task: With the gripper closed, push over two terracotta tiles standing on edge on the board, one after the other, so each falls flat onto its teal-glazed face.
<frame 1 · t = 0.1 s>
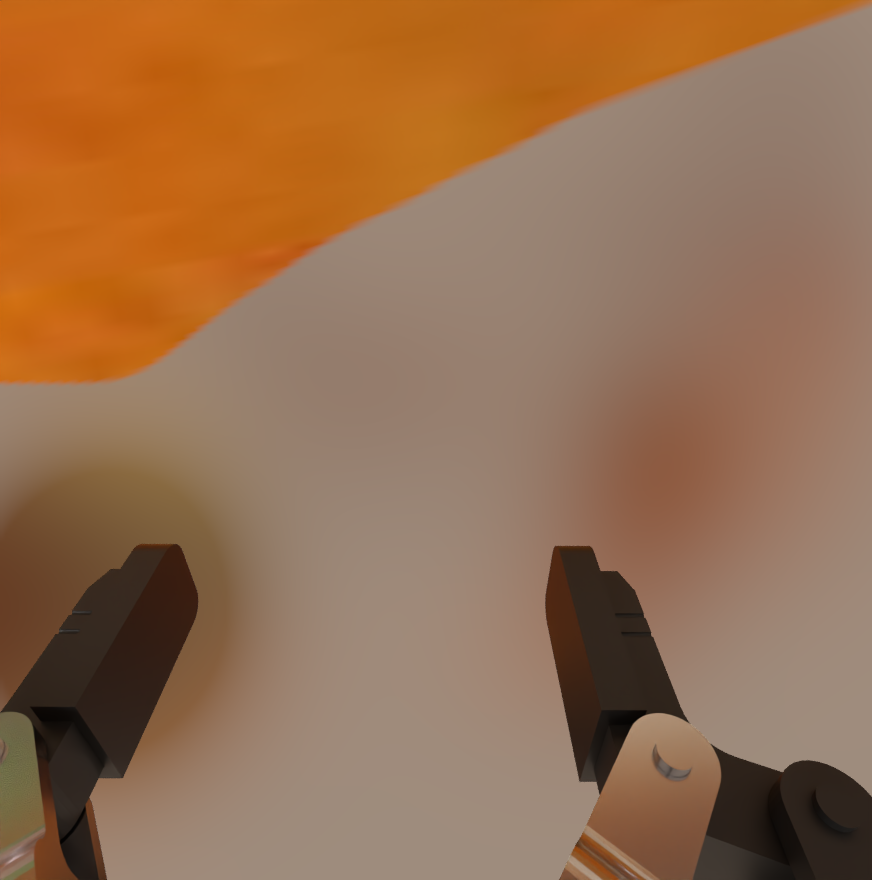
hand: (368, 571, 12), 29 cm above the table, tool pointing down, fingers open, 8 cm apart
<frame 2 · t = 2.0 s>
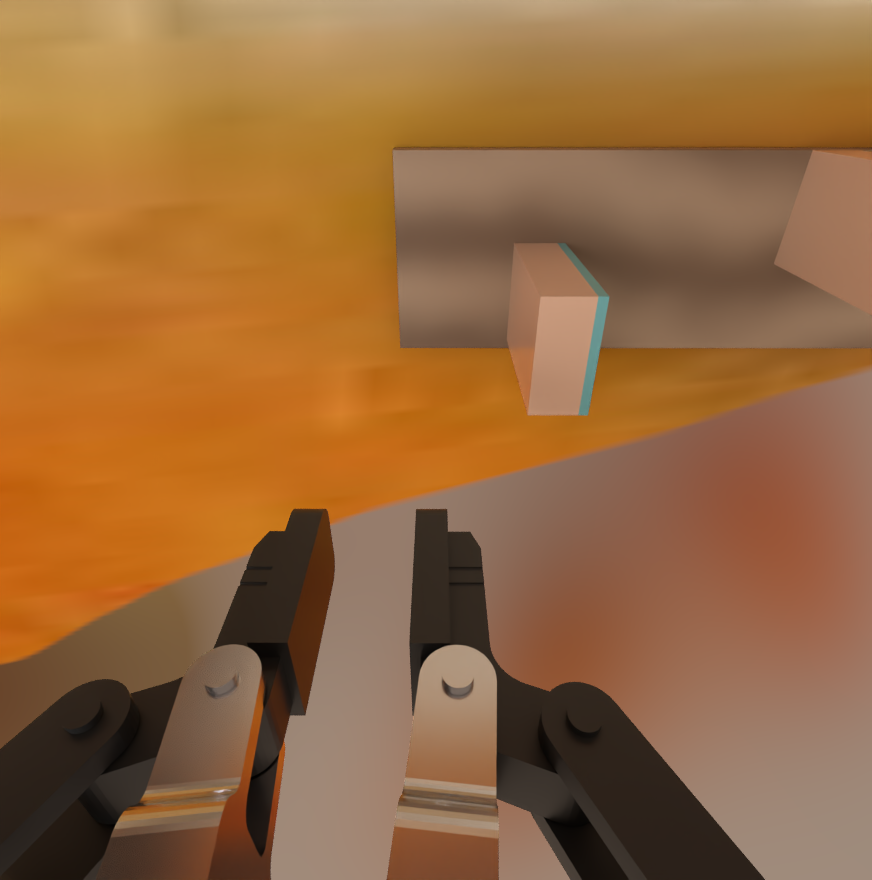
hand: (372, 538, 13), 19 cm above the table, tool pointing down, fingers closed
tile 1: (534, 293, 27), point 1 cm above the table, touching board
tile 2: (818, 210, 25), point 1 cm above the table, touching board
board: (670, 252, 27), on the table
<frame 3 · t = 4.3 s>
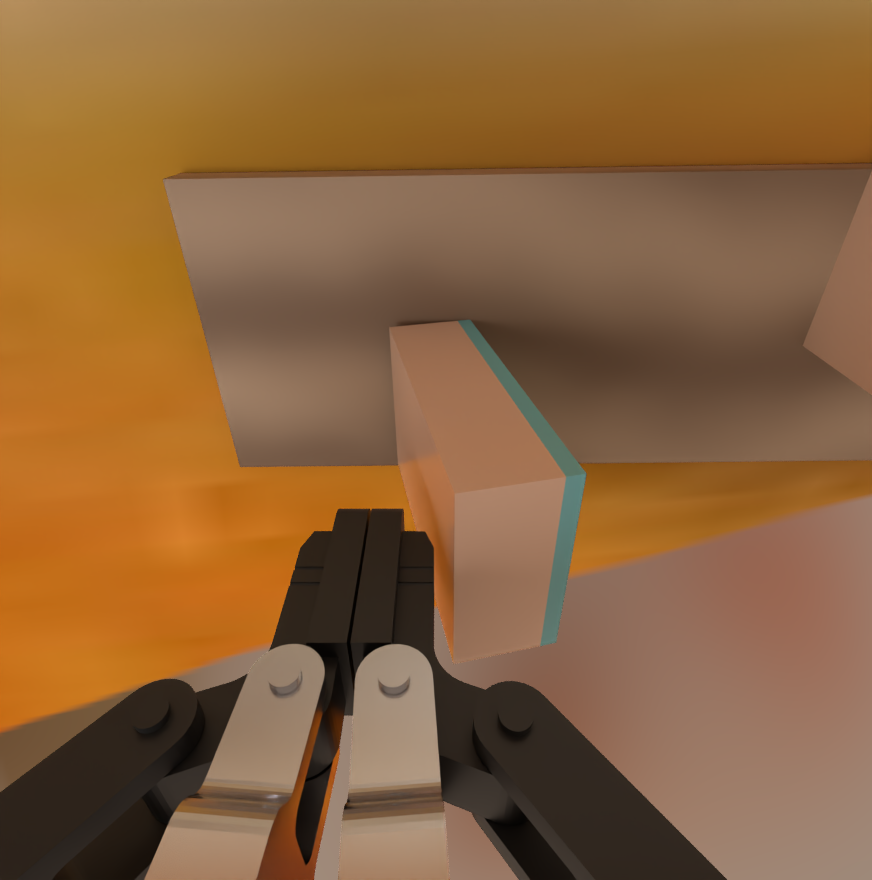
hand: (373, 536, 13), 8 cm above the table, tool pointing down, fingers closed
tile 1: (431, 395, 18), point 1 cm above the table, tilted 12°, touching board
board: (640, 325, 18), on the table
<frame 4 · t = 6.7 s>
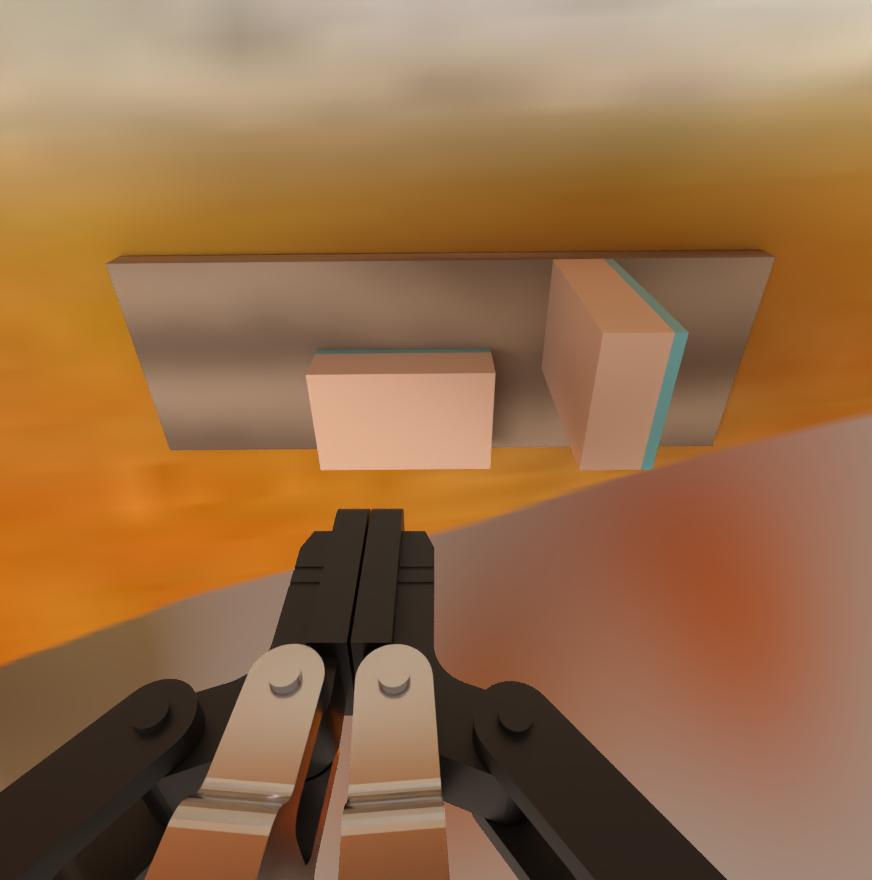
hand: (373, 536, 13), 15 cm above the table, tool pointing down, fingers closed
tile 1: (318, 411, 25), point 2 cm above the table, tilted 90°, touching board
tile 2: (575, 316, 24), point 1 cm above the table, touching board
board: (439, 353, 26), on the table
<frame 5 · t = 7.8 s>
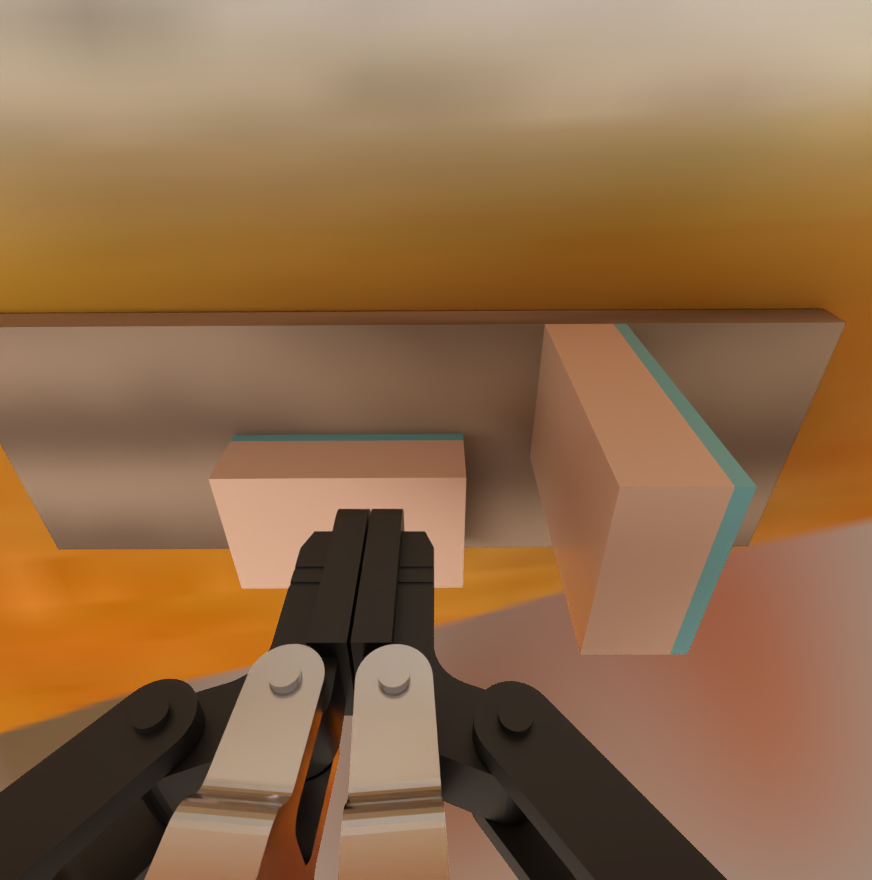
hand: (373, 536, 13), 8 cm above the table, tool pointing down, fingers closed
tile 1: (237, 513, 19), point 2 cm above the table, tilted 90°, touching board
tile 2: (574, 395, 18), point 1 cm above the table, touching board
board: (399, 433, 20), on the table
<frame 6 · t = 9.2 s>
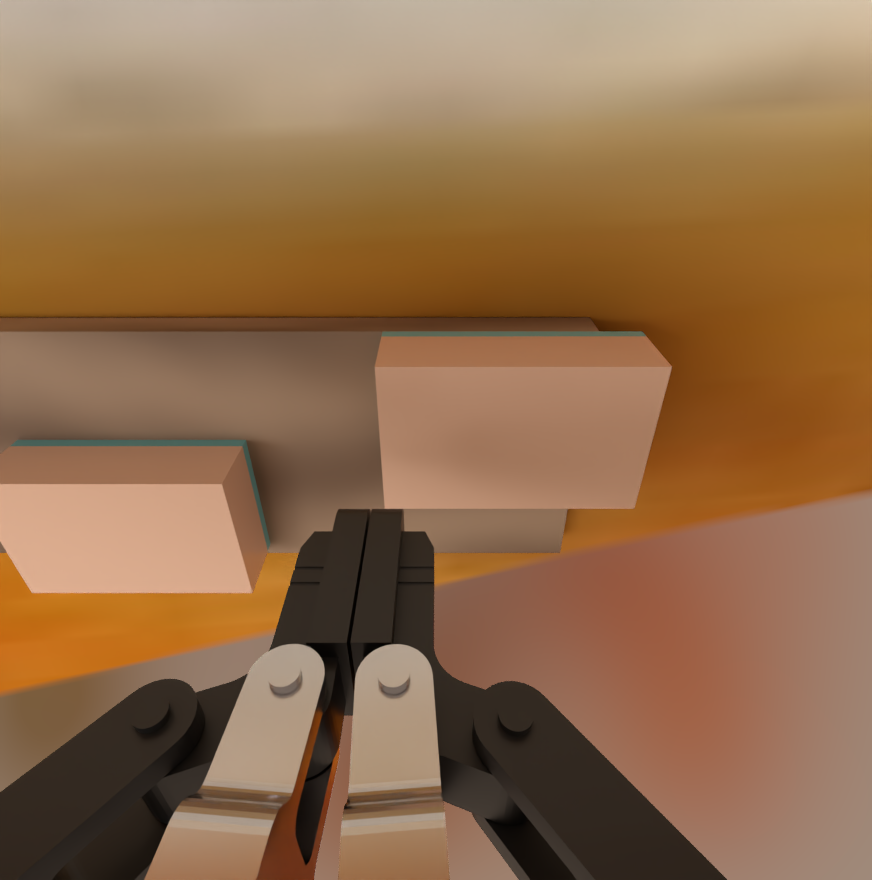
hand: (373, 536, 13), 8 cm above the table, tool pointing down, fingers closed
tile 1: (24, 517, 19), point 2 cm above the table, tilted 90°, touching board
tile 2: (383, 421, 17), point 2 cm above the table, tilted 90°, touching board
board: (197, 438, 20), on the table
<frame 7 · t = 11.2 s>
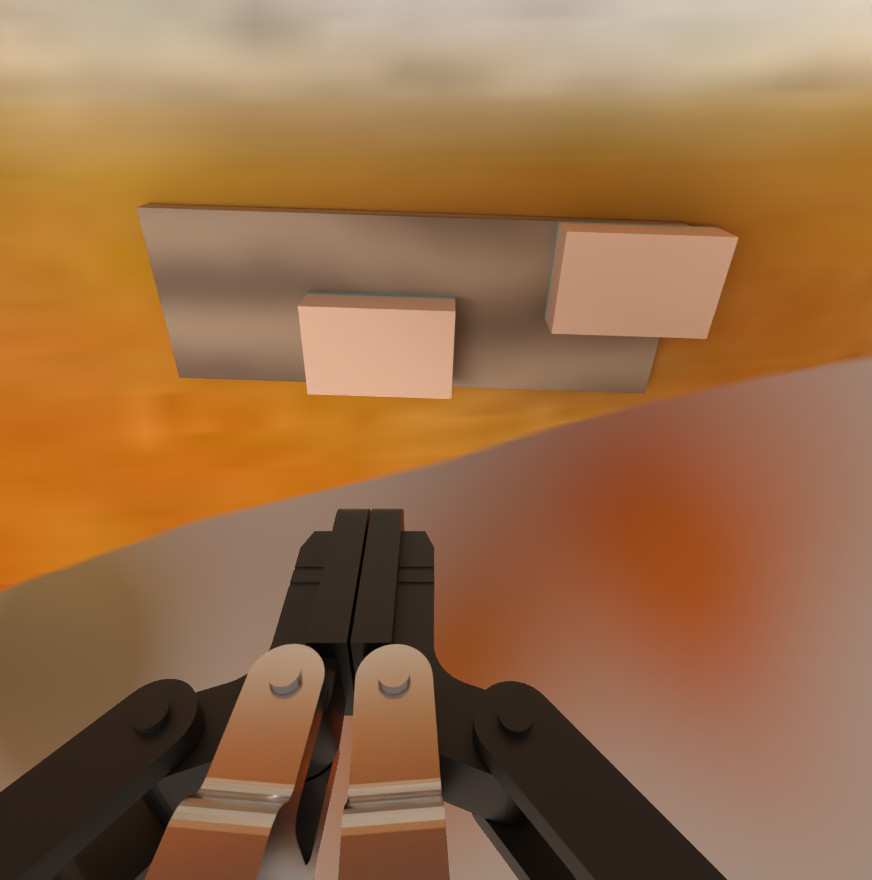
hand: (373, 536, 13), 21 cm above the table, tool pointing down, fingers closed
tile 1: (308, 343, 29), point 2 cm above the table, tilted 90°, touching board
tile 2: (554, 278, 27), point 2 cm above the table, tilted 90°, touching board
board: (413, 301, 31), on the table
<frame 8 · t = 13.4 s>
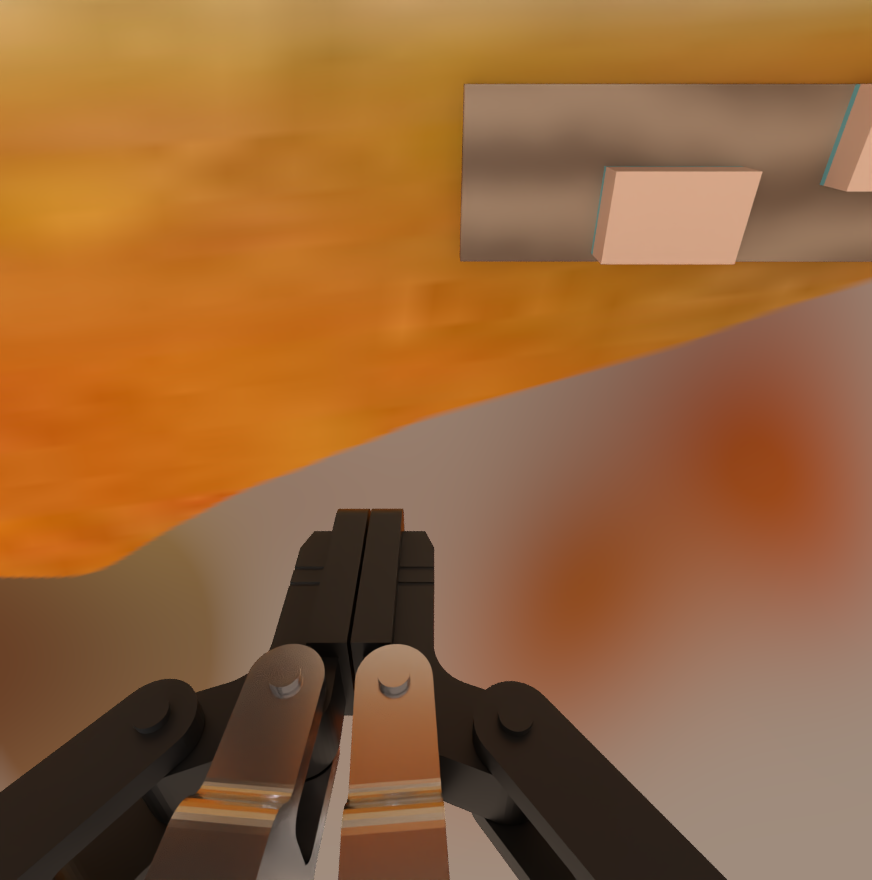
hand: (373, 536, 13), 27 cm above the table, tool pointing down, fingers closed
tile 1: (602, 215, 32), point 2 cm above the table, tilted 90°, touching board
tile 2: (851, 138, 29), point 2 cm above the table, tilted 90°, touching board
board: (689, 177, 33), on the table
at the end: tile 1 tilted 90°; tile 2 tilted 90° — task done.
